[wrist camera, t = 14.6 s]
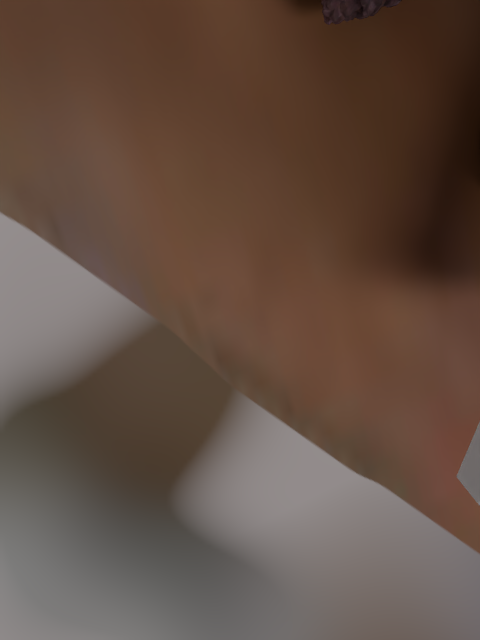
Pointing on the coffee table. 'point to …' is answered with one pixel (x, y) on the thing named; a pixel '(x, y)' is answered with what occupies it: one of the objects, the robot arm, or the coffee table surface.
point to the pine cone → (352, 9)
